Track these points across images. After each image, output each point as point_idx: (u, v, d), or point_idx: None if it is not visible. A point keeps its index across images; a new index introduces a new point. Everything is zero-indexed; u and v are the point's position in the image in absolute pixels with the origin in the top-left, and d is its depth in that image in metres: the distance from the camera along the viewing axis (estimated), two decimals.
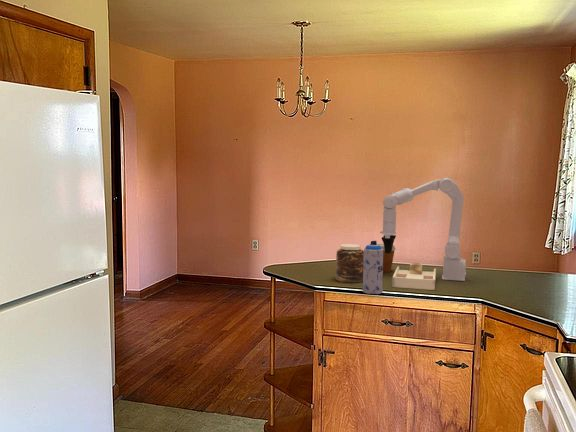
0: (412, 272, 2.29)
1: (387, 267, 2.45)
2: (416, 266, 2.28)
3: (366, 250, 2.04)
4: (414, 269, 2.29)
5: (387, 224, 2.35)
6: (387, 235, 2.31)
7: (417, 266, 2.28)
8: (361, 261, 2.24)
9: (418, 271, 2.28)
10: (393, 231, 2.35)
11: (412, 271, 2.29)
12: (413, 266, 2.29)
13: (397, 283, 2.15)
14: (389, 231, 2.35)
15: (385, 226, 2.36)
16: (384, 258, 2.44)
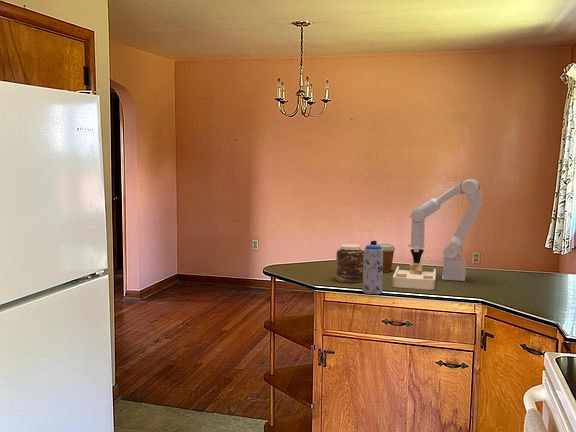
0: (412, 272, 2.29)
1: (387, 267, 2.44)
2: (416, 266, 2.28)
3: (366, 250, 2.04)
4: (414, 269, 2.29)
5: (416, 237, 2.34)
6: (416, 249, 2.30)
7: (417, 266, 2.28)
8: (361, 261, 2.24)
9: (418, 271, 2.28)
10: (422, 244, 2.35)
11: (412, 271, 2.29)
12: (413, 266, 2.29)
13: (397, 283, 2.15)
14: (418, 244, 2.34)
15: (414, 239, 2.35)
16: (384, 258, 2.43)
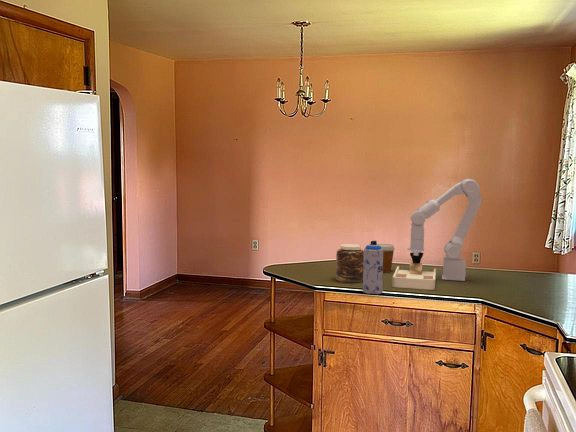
0: (412, 272, 2.29)
1: (387, 267, 2.44)
2: (416, 266, 2.28)
3: (366, 250, 2.04)
4: (414, 269, 2.28)
5: (415, 241, 2.31)
6: (416, 252, 2.27)
7: (417, 266, 2.28)
8: (361, 261, 2.24)
9: (418, 271, 2.28)
10: (421, 248, 2.31)
11: (412, 271, 2.29)
12: (413, 266, 2.29)
13: (397, 283, 2.15)
14: (417, 248, 2.31)
15: (413, 243, 2.32)
16: (384, 258, 2.44)
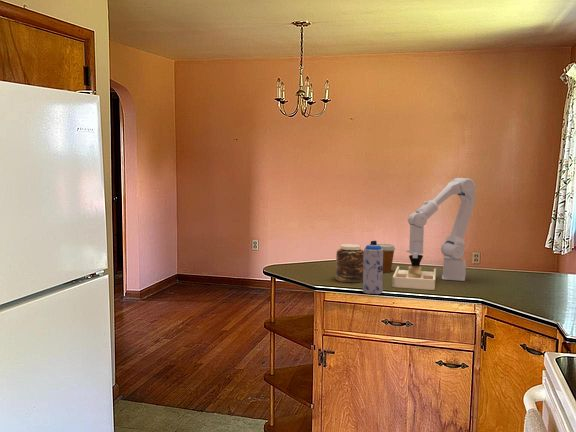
0: (411, 275, 2.22)
1: (387, 267, 2.45)
2: (415, 269, 2.22)
3: (366, 250, 2.04)
4: (413, 272, 2.22)
5: (414, 243, 2.24)
6: (415, 255, 2.20)
7: (416, 269, 2.22)
8: (361, 261, 2.24)
9: (417, 274, 2.22)
10: (421, 250, 2.25)
11: (411, 275, 2.22)
12: (412, 269, 2.22)
13: (397, 283, 2.15)
14: (416, 250, 2.24)
15: (412, 245, 2.25)
16: (384, 258, 2.44)
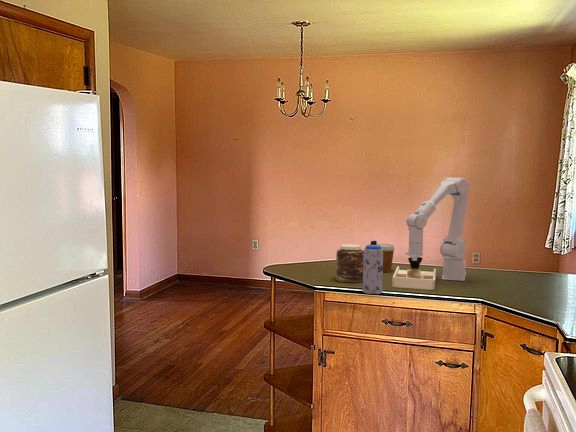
0: None
1: (387, 267, 2.45)
2: (414, 272, 2.16)
3: (366, 250, 2.04)
4: (412, 275, 2.16)
5: (414, 245, 2.19)
6: (414, 257, 2.15)
7: (415, 272, 2.16)
8: (361, 261, 2.24)
9: (416, 277, 2.16)
10: (420, 252, 2.19)
11: (410, 277, 2.17)
12: (411, 272, 2.17)
13: (397, 283, 2.15)
14: (416, 252, 2.19)
15: (411, 247, 2.20)
16: (384, 258, 2.44)
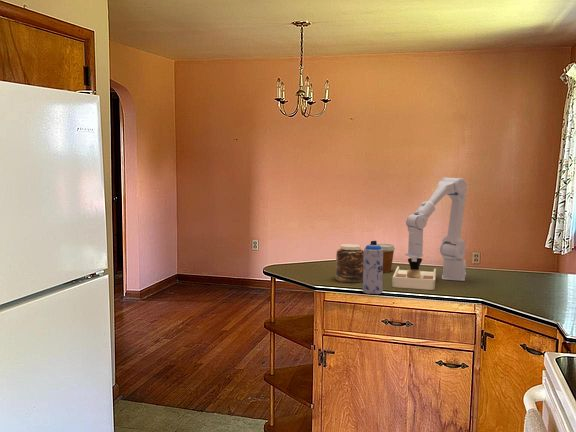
0: None
1: (387, 267, 2.44)
2: (414, 273, 2.14)
3: (366, 250, 2.04)
4: (412, 276, 2.14)
5: (413, 246, 2.17)
6: (414, 258, 2.13)
7: (415, 273, 2.14)
8: (361, 261, 2.24)
9: None
10: (420, 253, 2.17)
11: None
12: (411, 273, 2.15)
13: (397, 283, 2.15)
14: (415, 253, 2.17)
15: (411, 248, 2.17)
16: (384, 258, 2.43)
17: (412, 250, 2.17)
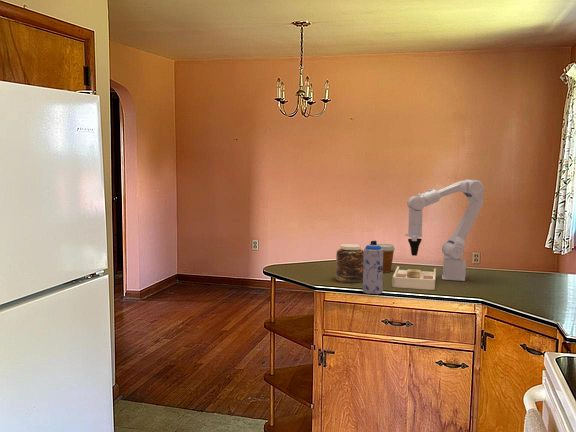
0: None
1: (387, 267, 2.44)
2: (414, 273, 2.14)
3: (366, 250, 2.04)
4: (412, 276, 2.14)
5: (413, 226, 2.26)
6: (414, 238, 2.22)
7: (415, 273, 2.14)
8: (361, 261, 2.24)
9: None
10: (419, 233, 2.26)
11: None
12: (411, 273, 2.15)
13: (397, 283, 2.15)
14: (415, 233, 2.26)
15: (411, 228, 2.27)
16: (384, 258, 2.43)
17: (412, 230, 2.26)
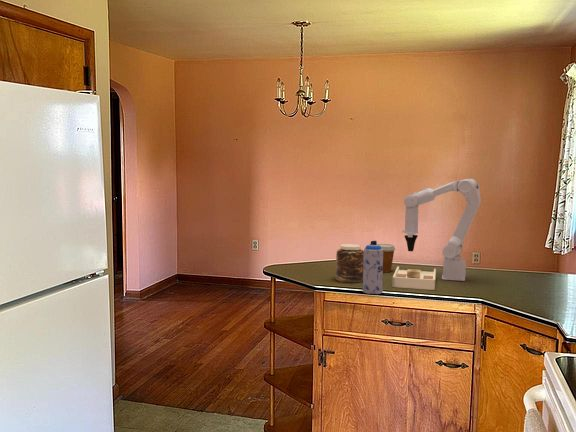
0: None
1: (387, 267, 2.45)
2: (414, 273, 2.14)
3: (366, 250, 2.04)
4: (412, 276, 2.14)
5: (409, 223, 2.37)
6: (410, 234, 2.33)
7: (415, 273, 2.14)
8: (361, 261, 2.24)
9: None
10: (415, 230, 2.37)
11: None
12: (411, 273, 2.15)
13: (397, 283, 2.15)
14: (411, 230, 2.37)
15: (407, 225, 2.38)
16: (385, 258, 2.43)
17: (408, 227, 2.37)
